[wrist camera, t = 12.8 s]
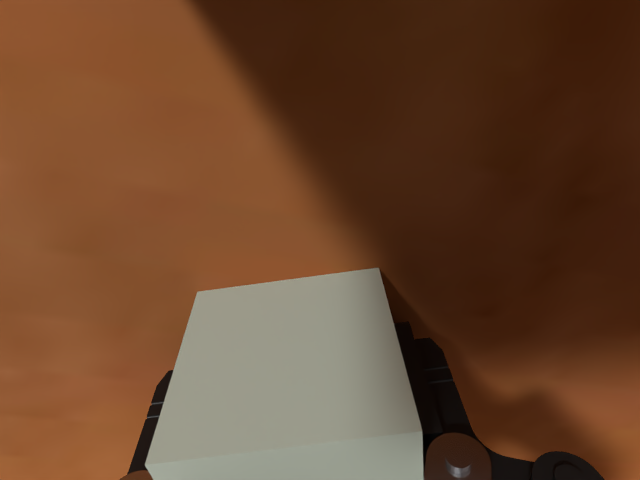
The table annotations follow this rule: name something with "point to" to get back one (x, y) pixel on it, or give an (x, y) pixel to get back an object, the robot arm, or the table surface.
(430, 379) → the robot arm
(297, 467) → the block
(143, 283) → the table surface
